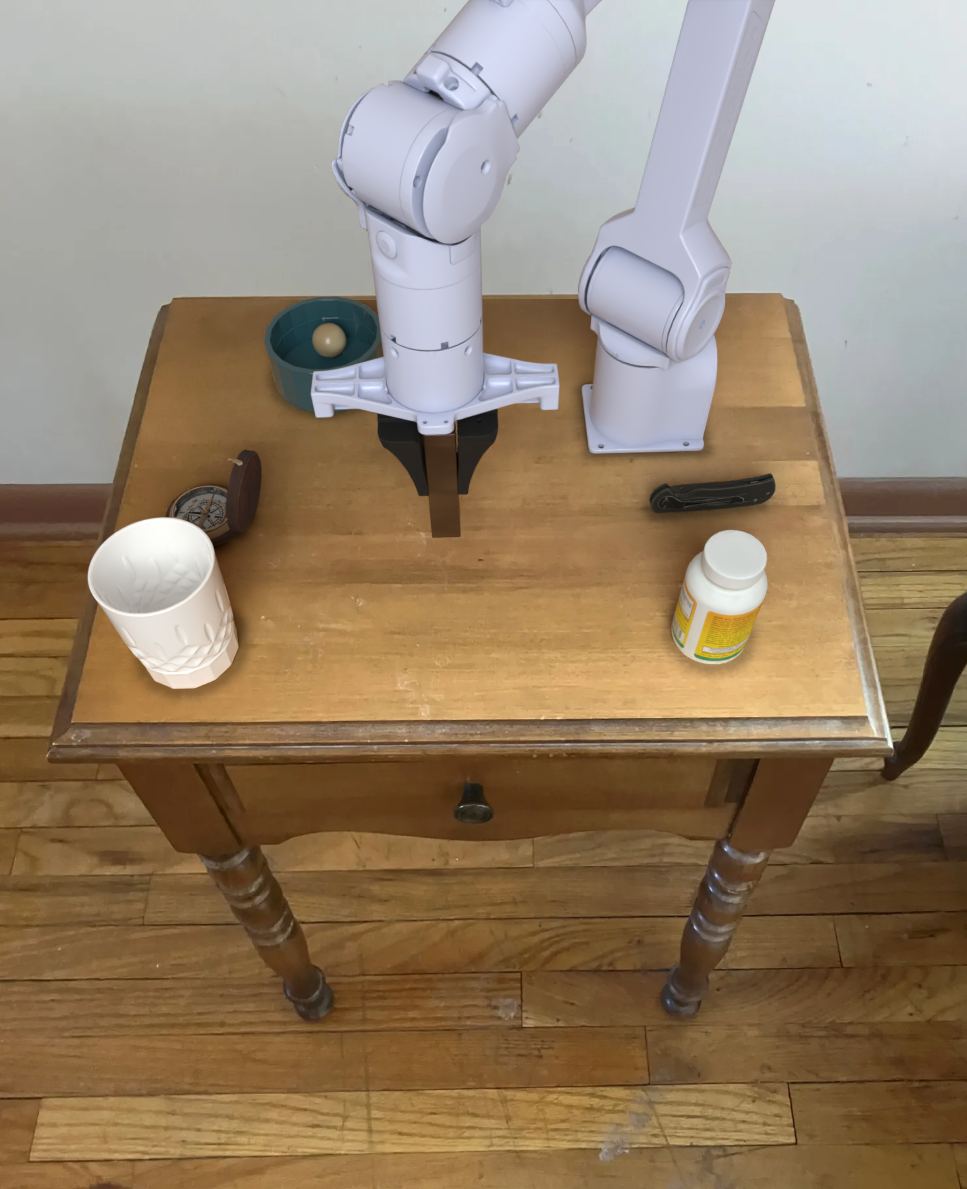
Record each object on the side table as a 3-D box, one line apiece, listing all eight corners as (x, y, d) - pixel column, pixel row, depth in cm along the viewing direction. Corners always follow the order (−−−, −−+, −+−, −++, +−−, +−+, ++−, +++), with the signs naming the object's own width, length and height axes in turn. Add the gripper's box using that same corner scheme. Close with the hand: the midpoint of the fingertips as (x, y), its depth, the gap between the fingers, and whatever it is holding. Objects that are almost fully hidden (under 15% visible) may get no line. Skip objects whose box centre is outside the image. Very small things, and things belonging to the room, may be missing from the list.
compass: (181, 487, 78) (155, 422, 73) (276, 498, 78) (258, 432, 72) (146, 565, 74) (116, 502, 68) (246, 577, 73) (224, 514, 67)
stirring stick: (460, 515, 69) (454, 411, 60) (460, 537, 67) (455, 434, 59) (432, 516, 69) (422, 412, 60) (432, 538, 67) (422, 435, 59)
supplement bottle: (655, 637, 69) (675, 554, 62) (699, 592, 72) (724, 507, 64) (717, 681, 67) (746, 601, 59) (761, 633, 70) (794, 550, 62)
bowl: (389, 335, 89) (384, 294, 86) (385, 411, 83) (380, 371, 80) (280, 338, 89) (271, 297, 86) (268, 415, 83) (258, 374, 80)
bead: (349, 342, 88) (345, 315, 85) (347, 364, 86) (342, 337, 84) (316, 343, 88) (310, 316, 85) (313, 365, 86) (308, 338, 84)
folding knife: (767, 496, 77) (776, 470, 75) (772, 508, 76) (781, 482, 74) (646, 507, 77) (651, 481, 74) (650, 519, 76) (655, 494, 73)
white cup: (224, 706, 67) (186, 625, 59) (117, 687, 68) (65, 604, 60) (262, 613, 71) (232, 526, 63) (161, 597, 72) (119, 508, 64)
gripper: (293, 370, 51) (329, 534, 62) (568, 361, 51) (556, 526, 62) (303, 286, 55) (336, 454, 66) (558, 278, 55) (548, 447, 66)
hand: (442, 484), depth 64 cm, fingers closed on stirring stick, 2 cm apart
